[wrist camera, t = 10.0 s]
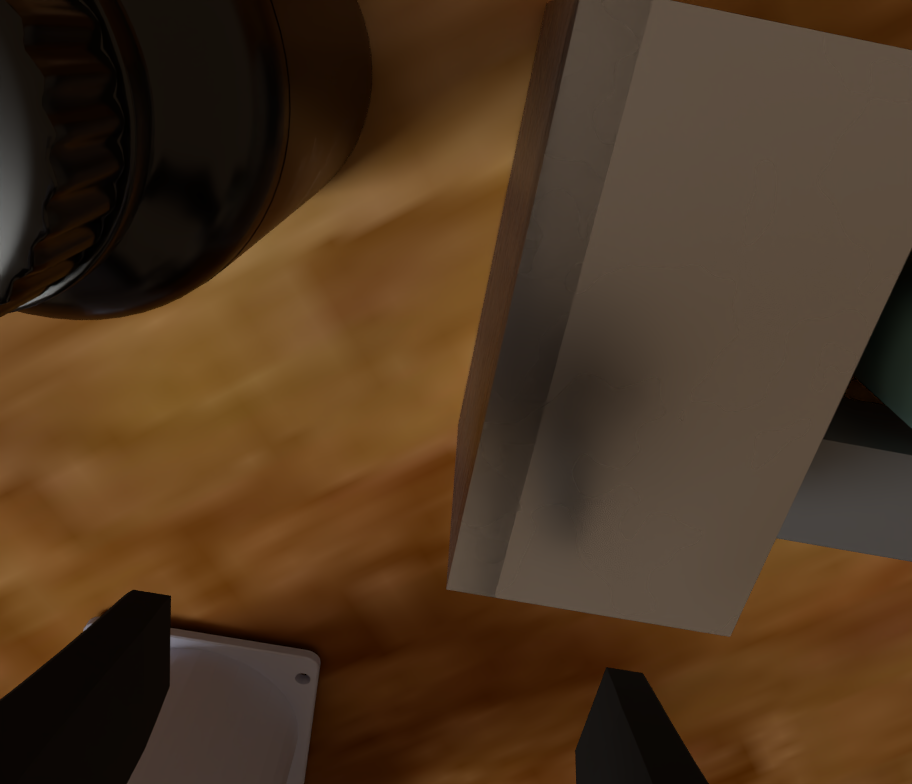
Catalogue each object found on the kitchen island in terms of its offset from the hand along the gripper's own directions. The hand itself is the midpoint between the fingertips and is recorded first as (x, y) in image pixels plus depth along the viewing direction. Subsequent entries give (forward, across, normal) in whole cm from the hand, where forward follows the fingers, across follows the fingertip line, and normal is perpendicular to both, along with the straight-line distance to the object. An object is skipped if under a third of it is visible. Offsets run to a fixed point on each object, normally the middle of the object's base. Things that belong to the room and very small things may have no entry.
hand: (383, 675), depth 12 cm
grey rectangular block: (+10, -4, -5) cm, 12 cm away
